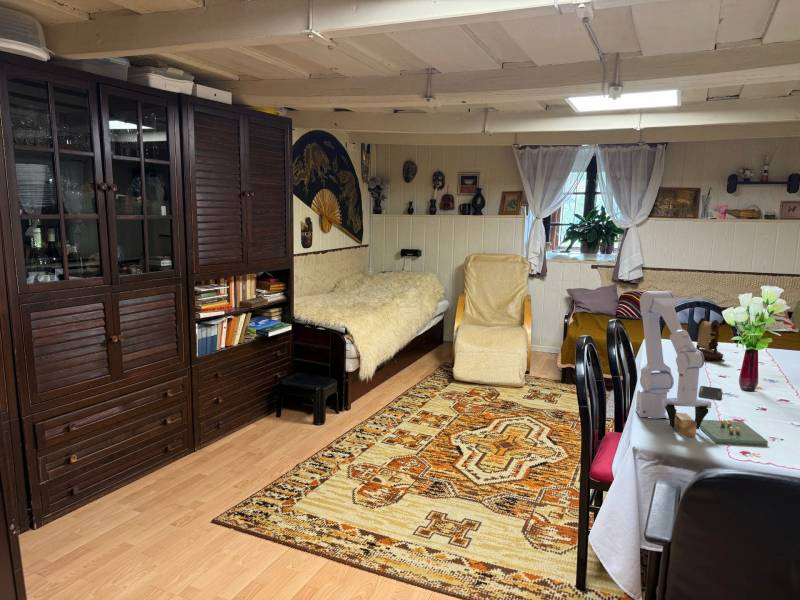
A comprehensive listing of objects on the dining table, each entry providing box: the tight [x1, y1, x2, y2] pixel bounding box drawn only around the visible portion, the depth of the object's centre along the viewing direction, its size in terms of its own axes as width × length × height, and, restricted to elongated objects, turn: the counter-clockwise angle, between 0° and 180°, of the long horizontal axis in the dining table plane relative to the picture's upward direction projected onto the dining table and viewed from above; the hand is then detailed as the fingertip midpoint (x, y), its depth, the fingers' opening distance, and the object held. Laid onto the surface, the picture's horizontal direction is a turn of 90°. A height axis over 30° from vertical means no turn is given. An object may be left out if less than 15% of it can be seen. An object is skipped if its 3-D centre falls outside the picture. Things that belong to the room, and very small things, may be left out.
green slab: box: [699, 419, 769, 447], centre depth 185 cm, size 15×17×4 cm
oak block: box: [674, 412, 697, 438], centre depth 187 cm, size 4×9×5 cm, turn 172°
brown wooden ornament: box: [695, 317, 724, 362], centre depth 285 cm, size 15×15×20 cm
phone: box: [698, 385, 723, 401], centre depth 228 cm, size 8×1×15 cm
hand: (684, 427), depth 187 cm, fingers open, 7 cm apart
